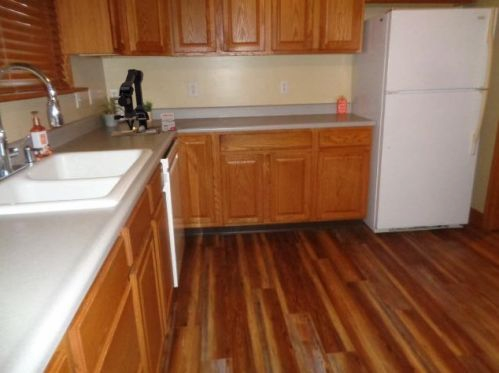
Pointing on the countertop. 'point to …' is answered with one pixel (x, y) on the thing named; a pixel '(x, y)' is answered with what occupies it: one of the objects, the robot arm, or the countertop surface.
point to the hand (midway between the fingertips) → (131, 130)
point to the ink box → (167, 121)
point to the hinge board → (140, 132)
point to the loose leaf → (131, 130)
